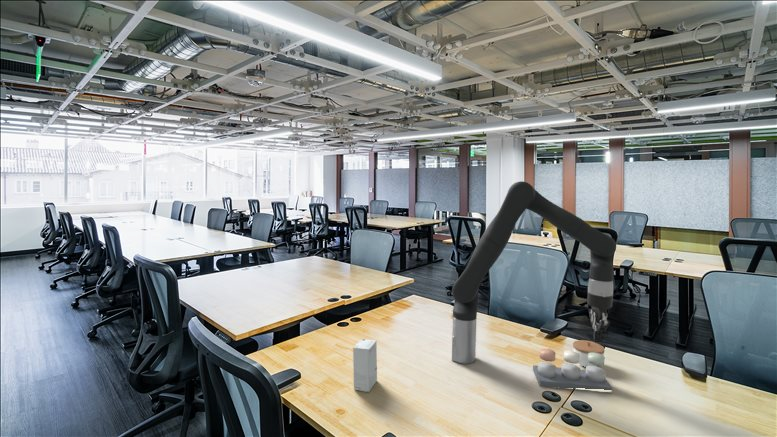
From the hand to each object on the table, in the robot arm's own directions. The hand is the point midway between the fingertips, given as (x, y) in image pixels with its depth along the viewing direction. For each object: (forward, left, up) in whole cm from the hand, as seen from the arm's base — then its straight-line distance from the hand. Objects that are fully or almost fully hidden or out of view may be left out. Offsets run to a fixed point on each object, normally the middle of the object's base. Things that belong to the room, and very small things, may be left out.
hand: (597, 340), depth 127 cm
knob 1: (-16, 0, -8) cm, 18 cm away
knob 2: (0, 0, -8) cm, 8 cm away
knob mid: (-8, 0, -8) cm, 11 cm away
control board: (-8, 0, -16) cm, 18 cm away
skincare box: (-79, -16, -16) cm, 82 cm away
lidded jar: (+2, +14, -16) cm, 21 cm away
